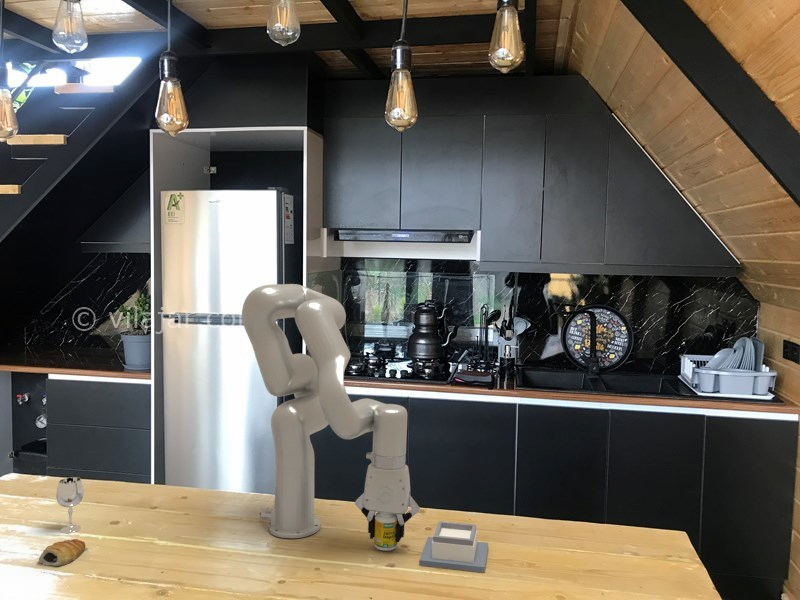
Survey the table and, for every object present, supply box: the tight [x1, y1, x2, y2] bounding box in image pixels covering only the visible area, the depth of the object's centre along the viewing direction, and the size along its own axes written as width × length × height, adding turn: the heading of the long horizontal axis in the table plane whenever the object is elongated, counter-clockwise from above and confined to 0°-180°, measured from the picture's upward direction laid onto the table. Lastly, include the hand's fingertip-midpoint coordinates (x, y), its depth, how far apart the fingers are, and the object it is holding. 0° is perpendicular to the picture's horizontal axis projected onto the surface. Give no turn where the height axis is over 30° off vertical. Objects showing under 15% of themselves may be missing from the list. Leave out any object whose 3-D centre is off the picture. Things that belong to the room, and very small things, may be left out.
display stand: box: [418, 520, 489, 574], centre depth 140 cm, size 14×12×6 cm
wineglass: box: [56, 476, 84, 534], centre depth 151 cm, size 6×6×12 cm
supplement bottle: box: [373, 512, 398, 551], centre depth 143 cm, size 5×5×10 cm
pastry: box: [38, 538, 86, 567], centre depth 137 cm, size 9×7×4 cm
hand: (385, 537), depth 143 cm, fingers closed on supplement bottle, 5 cm apart
